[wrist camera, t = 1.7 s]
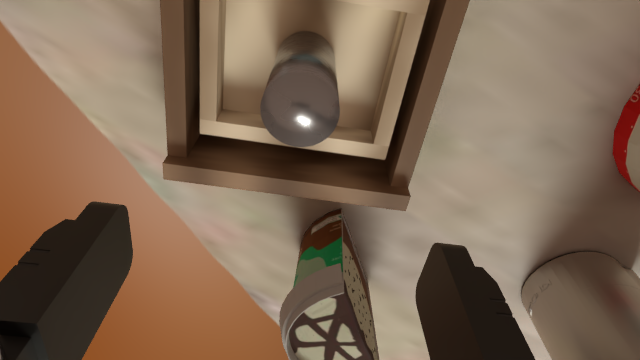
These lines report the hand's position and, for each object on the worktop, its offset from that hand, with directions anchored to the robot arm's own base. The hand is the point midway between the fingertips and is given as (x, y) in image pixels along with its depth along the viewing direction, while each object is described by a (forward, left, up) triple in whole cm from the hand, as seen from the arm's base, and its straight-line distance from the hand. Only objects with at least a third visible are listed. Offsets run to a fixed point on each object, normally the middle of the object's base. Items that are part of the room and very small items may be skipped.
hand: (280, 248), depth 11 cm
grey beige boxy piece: (0, 0, -18) cm, 18 cm away
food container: (-4, +18, -20) cm, 27 cm away
